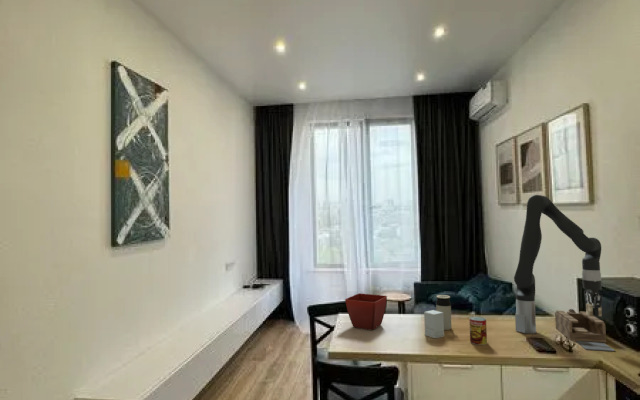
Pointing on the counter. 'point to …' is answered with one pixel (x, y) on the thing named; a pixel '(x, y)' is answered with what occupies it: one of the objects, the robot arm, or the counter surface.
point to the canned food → (478, 330)
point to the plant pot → (366, 310)
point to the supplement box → (434, 324)
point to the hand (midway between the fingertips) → (593, 314)
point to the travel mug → (444, 309)
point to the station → (583, 330)
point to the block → (590, 310)
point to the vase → (571, 311)
